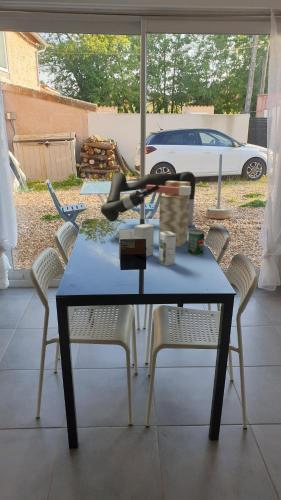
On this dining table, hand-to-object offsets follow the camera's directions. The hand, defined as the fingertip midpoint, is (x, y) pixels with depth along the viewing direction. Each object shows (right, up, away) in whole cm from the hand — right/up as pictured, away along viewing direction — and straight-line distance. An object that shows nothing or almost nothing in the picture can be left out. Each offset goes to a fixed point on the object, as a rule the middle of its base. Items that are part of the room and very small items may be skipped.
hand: (159, 186), depth 193 cm
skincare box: (-8, -36, -10) cm, 38 cm away
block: (+4, -4, -1) cm, 5 cm away
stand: (+8, -29, +9) cm, 31 cm away
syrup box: (+2, -39, -21) cm, 45 cm away
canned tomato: (+18, -35, -7) cm, 39 cm away
